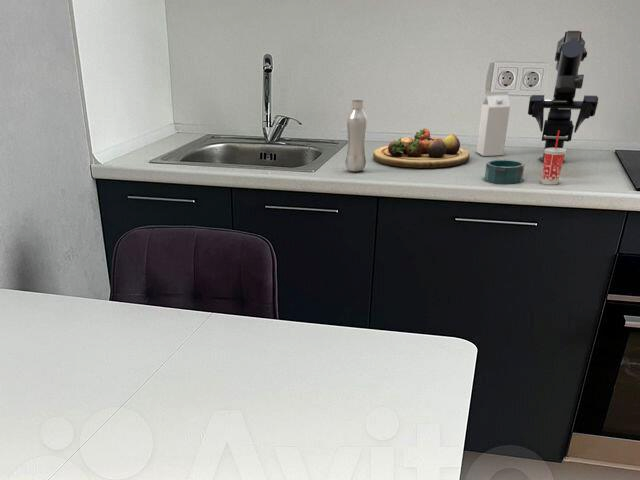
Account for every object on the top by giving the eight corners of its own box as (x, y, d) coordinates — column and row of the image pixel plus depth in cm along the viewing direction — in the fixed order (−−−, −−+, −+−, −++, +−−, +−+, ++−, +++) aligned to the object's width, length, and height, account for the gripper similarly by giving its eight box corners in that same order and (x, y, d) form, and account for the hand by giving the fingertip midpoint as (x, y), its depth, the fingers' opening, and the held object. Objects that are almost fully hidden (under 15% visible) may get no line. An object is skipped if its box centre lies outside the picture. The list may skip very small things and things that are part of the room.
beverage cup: (563, 181, 214) (572, 129, 206) (557, 186, 209) (567, 132, 202) (542, 179, 216) (550, 128, 209) (536, 183, 212) (544, 131, 204)
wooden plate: (390, 147, 262) (392, 122, 258) (479, 153, 251) (482, 127, 246) (359, 165, 239) (360, 137, 234) (455, 172, 227) (458, 143, 222)
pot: (525, 176, 221) (528, 160, 218) (516, 186, 210) (519, 169, 208) (490, 173, 225) (492, 157, 222) (480, 183, 214) (482, 167, 212)
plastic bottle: (367, 169, 233) (370, 99, 222) (362, 173, 228) (365, 102, 217) (348, 168, 235) (350, 99, 224) (342, 172, 230) (344, 102, 219)
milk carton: (476, 152, 252) (483, 90, 241) (496, 151, 253) (504, 90, 242) (482, 156, 246) (490, 93, 236) (503, 155, 247) (512, 92, 236)
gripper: (535, 63, 208) (527, 111, 205) (605, 63, 203) (597, 113, 201) (531, 90, 218) (523, 137, 216) (598, 91, 213) (590, 139, 211)
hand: (558, 131), depth 211 cm, fingers open, 9 cm apart
